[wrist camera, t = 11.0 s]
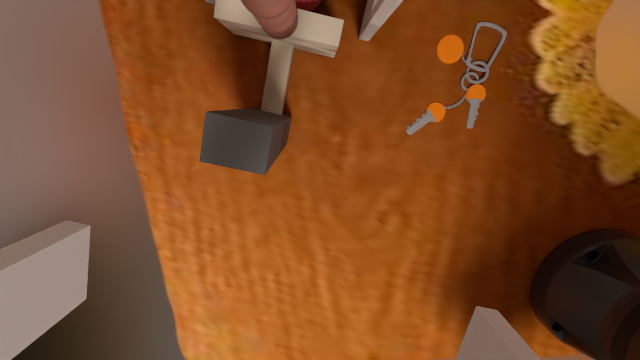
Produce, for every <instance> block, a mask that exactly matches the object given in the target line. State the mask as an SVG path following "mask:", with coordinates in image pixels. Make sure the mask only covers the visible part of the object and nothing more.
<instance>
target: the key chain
mask: <svg viewBox="0 0 640 360" xmlns="http://www.w3.org/2000/svg"><path fill="white" fill-rule="evenodd" d="M480 26H488V27H492V28H494V29H496V30H498V31H500V32H501V33H502V37H501V40H500V42H499V44H498V46H497V48H496V50H495V52H494V53H493V55H492V57H491V58H490V60H489V62H488V64H486V63H485V62H483V61H480V60H479V61H474V62H472V63H470V62H471V59H472V57H470V55H471V52H472V48H473V44H474V40H475V37H476V33H477V31H478V30H479V28H480ZM474 30H475V32H474V35H473V39H472V43H471V46H470V50H469V53H468V57H467V58H466V60H465V59H464V57H463V56H464V54H465V53H464V54H463V51H464V44H463V42H462V40H461V39H460V38H459V37H458V36H456V35H447V36H446V37H444V38H442V40H441V41H440V42H439V44H438V47H437V54H438V57H439V59H440V60H441V61H442V62H444V63H448V64H449V63H454V62H456V61H458V60H459V59H460V57H461V56H462V60H463V61H464V62H466V65H467V66H468V67H467V69H466V73H465V75H464V76H463V77H462V79H461V87H462V88H463V89H464V90H466V94H465V95H464V96H463V99H462V98H461V99H460V100H459V102H457V103H456V104H453V105H452V106H448V107H446V106H443V105H442V104H441V103H436V102H434V103H432V104H430V105H429V106H428V107H427V108H426V109H427V111H426V115H425V113H424V114H423V116H421V117H422V118H421V119H420V118H419V119H416V121H417V122H416V123H415V122H413V125H412V126H410V127H409V126H408V127H407V128H408V129H406V131H407V134H409V135H411V134H413V133H414V132H415V131H417V130H418V129H420V128H421V127H422V126H424V125H425V124H426V123H428V122H429V121H432V122H435V123H436V122H439V121H441V120H442V118H443V117H444V115H445V109H446V108H448V109H450V108H451V107H452V108H453V107H456V105H459V104H460V103H461V102H462V101H463V100H464V99H465V98H466V100H467V101H468V102H469V103H470V107H469V113H468V120H467V128H469V129H470V128H473V126H474V121H475V119H477V117H475V116H476V115H478V111H477V109H478V108H479V106H480V104H479V103H480V102H481V101H482V100H484V98H485V96H486V90H485V88H484V87H483V85H480V84H479V83H481V82H483V81H485V80H486V78H487V77H488V74H489V67H490V65H491V64H492V62H493V60H494V59H495V57H496V55H497V54H498V52H499V50H500V48H501V46H502V44H503V43H504V41H505V38H506V35H507V33H506V31H505V30H504V29H502V28H501V27H500V26H498V25H496V24H493V23H489V22H479V23H477V25H476V27H475V29H474ZM475 64H481V65H483V66H484V67H485V68H481V67H478V66H475ZM470 68H472V69H475V70H478V71H481V72H485V76H484V77H483V78H482V79H480V80H479V78H478V75H477V74H476V73H475V72H469V69H470ZM470 74H471V75H474V76H475V77H476V81H475V80H472V79H471V78H470V77H469V75H470ZM465 77H466V79H467V80H468V81H469V82H470V83H473V84H475V85H472V86H470V87H469V88H466V87H465V86H464V84H463V82H464V79H465Z"/></svg>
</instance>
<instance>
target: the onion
mask: <svg viewBox="0 0 640 360" xmlns="http://www.w3.org/2000/svg"><path fill="white" fill-rule="evenodd" d="M320 2H321V0H295V3H296V8H297V9H301V10H305V11H309V12H311V11H313V10H314V9H316V7H317V6H318V5H319V3H320Z"/></svg>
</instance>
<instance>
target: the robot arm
mask: <svg viewBox="0 0 640 360" xmlns="http://www.w3.org/2000/svg"><path fill="white" fill-rule="evenodd" d="M89 241H90V225H86V224H81V223H76V222H71V221H64V222H62V223H59V224H57V225H55V226H52V227H50V228H48V229H46V230H44V231H41V232H39V233H36V234H34V235H32V236H30V237H27V238H25V239H23V240H20V241H18V242H16V243H14V244H11V245H9V246H7V247H5V248H2V249H0V360H11V359H12V358H14V357H15V356H16V355H17V354H18V353H20V352H21V351H22V350H23V349H24V348H26V347H27V346H28V345H30V344H31V343H32V342H33V341H35V340H36V339H37V338H38V337H39V336H41V335H42V334H43V333H45V332H46V331H47V330H48V329H49V328H51V327H52V326H53V325H54V324H55V323H57V322H58V321H59V320H60V319H62V318H63V317H64V316H66V315H67V314H68V313H69V312H70V311H72V310H73V309H74V308H75V307H77V306H78V305H79V304H80V303H82V302H83V301H84V300H85V299H86V295H87V277H88V259H89ZM531 303H532V307H533V311H534V313H535V315H536V317H537V318H538V320H539V321H540V322H541V323H542V324H543V325H544V326H545V327H546V328H547V329H548V330H549V331H550V332H551V333H552V334H553V335H554V336H555V337H556V338H557V339H559V340H560V341H561V342H563V343H564V344H566V345H568V346H570V347H572V348H574V349H575V350H577V351H579V352H581V353H583V354H585V355H587V356H588V357H591V358H592V359H594V360H640V238H639V237H637V236H634V235H632V234H630V233H627V232H623V231H619V230H608V229H606V230H596V231H591V232H587V233H584V234H581V235H578V236H576V237H574V238H572V239H570V240H568V241H567V242H565V243H563V244H562V245H560V246H559V247H558V248H557V249H555V250H554V251H553V252H552V253H551V254H550V255H549V256H548V257H547V258H546V260H545V261H544V262H543V263H542V265H541V266H540V268H539V270H538V272H537V274H536V276H535V278H534V281H533V285H532V290H531ZM455 360H541V359H540V358H539V357H538V356H537V355H536V354H535V353H534V351H533V350H532V349H531V348H530V347H529V346H528V345H527V343H526V342H525V341H524V340H523V339H522V338H521V337H520V335H519V334H518V333H517V332H516V331H515V330H514V329H513V327H512V326H511V325H510V324H509V323H508V322H507V321H506V319H505V318H504V317H503V316H502V315H501V314H500V313H499V311H498V310H494V309H489V308H484V307H480V306H476V308H475V311H474V313H473V316H472V318H471V321H470V323H469V326H468V328H467V331H466V333H465V336H464V338H463V341H462V343H461V346H460V348H459V351H458V353H457V356H456V358H455Z"/></svg>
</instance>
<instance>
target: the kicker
mask: <svg viewBox="0 0 640 360" xmlns="http://www.w3.org/2000/svg"><path fill="white" fill-rule="evenodd" d="M214 18H215V19H217V20H218V21H219V22H220V23H221V24H223V25H224V26H225V27H226V28H227V29H228V30H230V31H231V32H232V33H233V34H236V35H240V36H244V37H248V38H253V39H257V40H261V41H265V42H270V43H272V45H271V51H270V57H269V63H268V69H267V75H266V81H265V87H264V93H263V99H262V105H261V109H256V108H246V109H233V110H221V111H208V112H206V113H205V121H204V129H203V138H202V146H201V154H200V162H205V163H210V164H215V165H220V166H225V167H229V168H234V169H239V170H244V171H249V172H254V173H258V174H263V175H265V174H266V173H267V171H268V170H269V168H270V167H271V166H272V164H273V163H274V161H275V160H276V158H277V157H278V156H279V154H280V153H281V151H282V150H283V149H284V147H285V146H286V144H287V139H288V133H289V128H290V123H291V118H292V116H288V115H284V114H282V113H283V108H284V102H285V97H286V91H287V86H288V80H289V75H290V70H291V64H292V59H293V53H294V48H295V49H299V50H303V51H308V52H312V53H316V54H320V55H325V56H329V57H333V58H334V56H335V54H336V51H337V49H338V46H339V41H340V37H341V32H342V27H343V23H344V20H342V19H338V18H334V17H330V16H325V15H321V14H317V13H313V12H309V11H305V10H301V9H297V8H296V3H295V0H216V1H215V10H214Z"/></svg>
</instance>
